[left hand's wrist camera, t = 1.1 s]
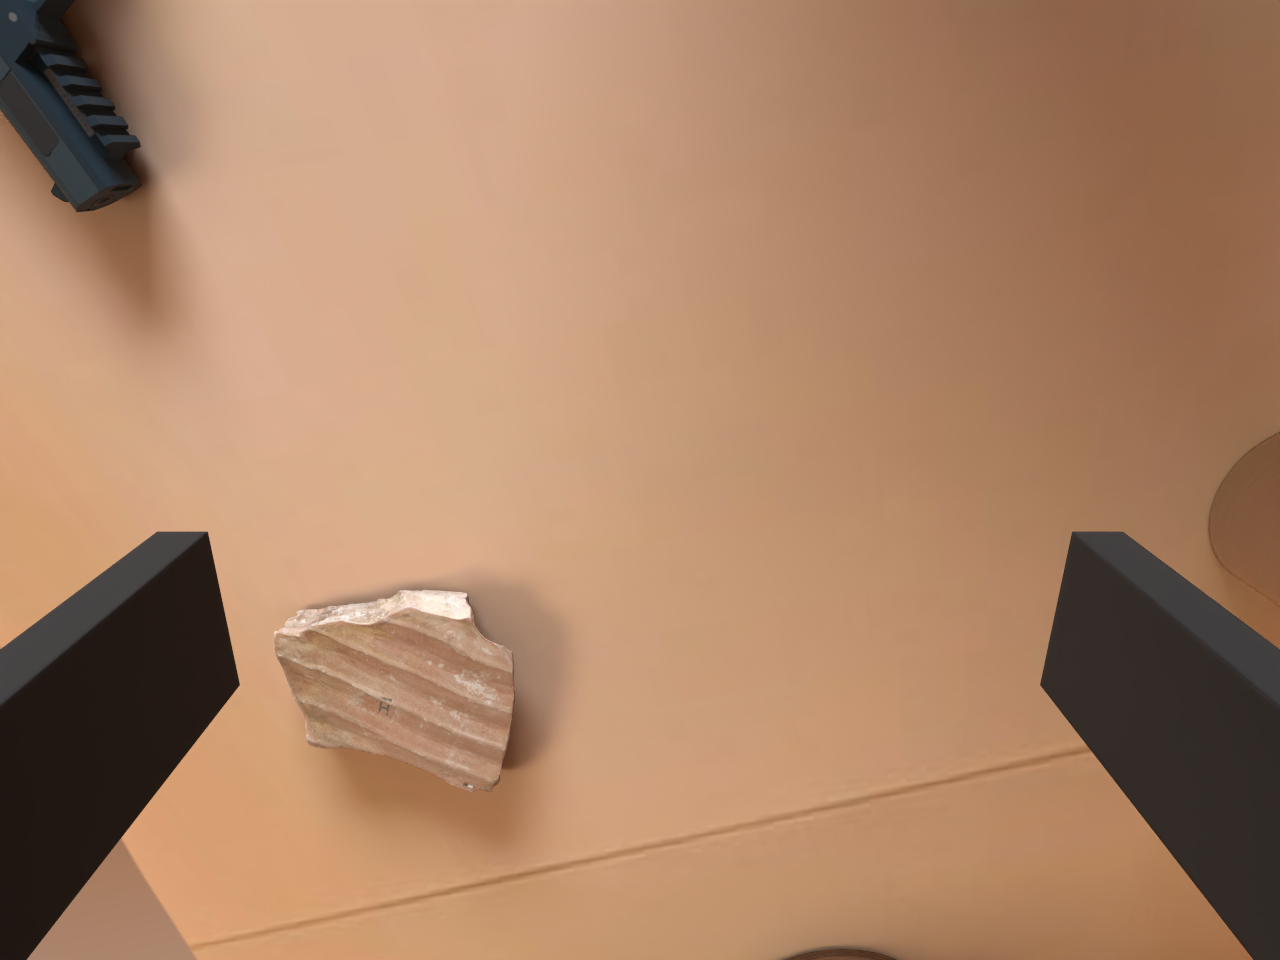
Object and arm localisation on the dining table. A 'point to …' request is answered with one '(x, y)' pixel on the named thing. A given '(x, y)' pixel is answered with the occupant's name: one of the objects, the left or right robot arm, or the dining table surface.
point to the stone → (404, 683)
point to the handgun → (61, 107)
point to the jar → (1251, 520)
